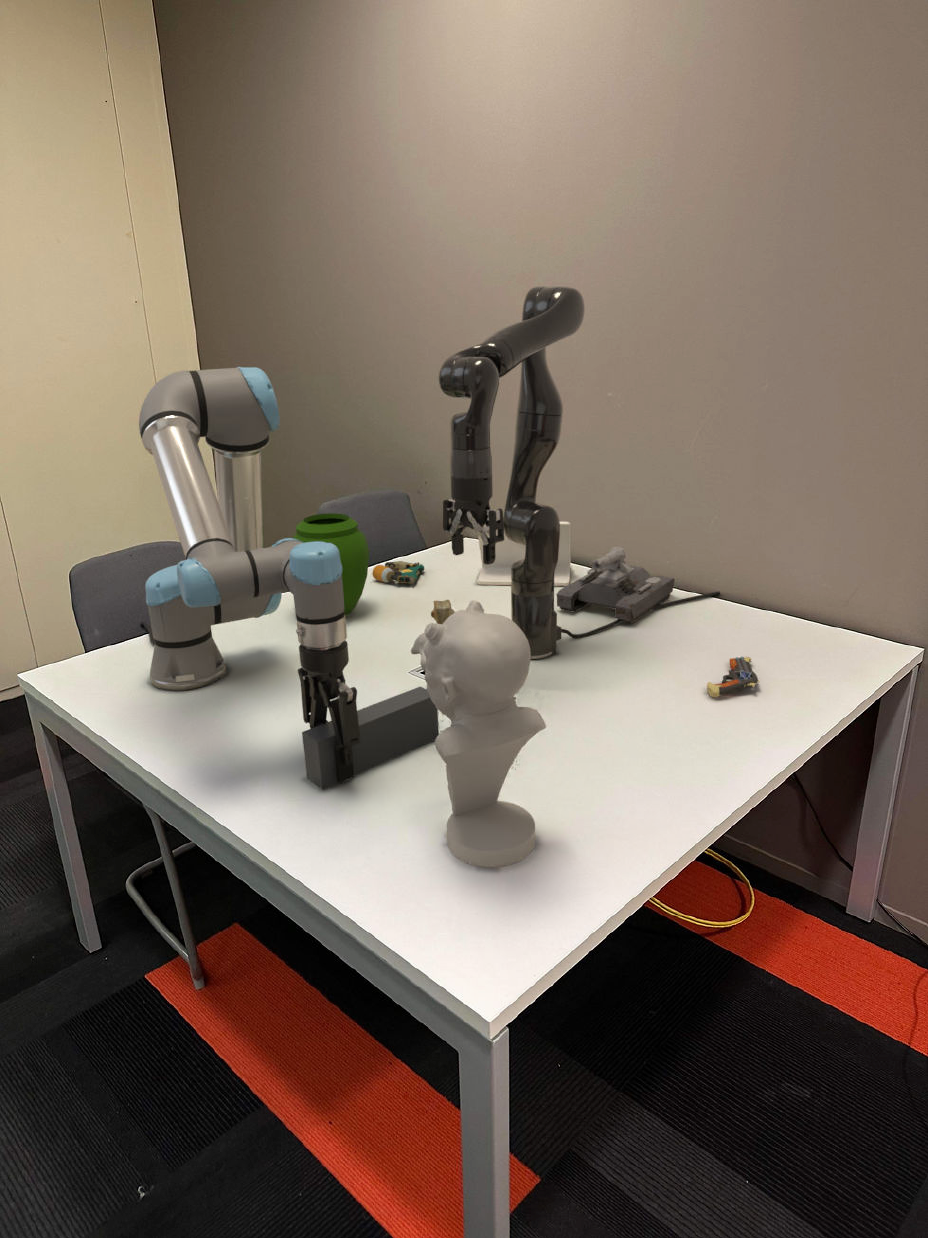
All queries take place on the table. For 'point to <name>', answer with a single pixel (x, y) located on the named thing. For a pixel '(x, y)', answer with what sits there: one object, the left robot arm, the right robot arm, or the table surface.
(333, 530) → the vase
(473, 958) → the table surface
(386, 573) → the spray gun
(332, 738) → the bar
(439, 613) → the sculpture
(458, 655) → the bust sculpture
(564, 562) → the tablet stand
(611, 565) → the toy
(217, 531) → the left robot arm
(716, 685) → the toy gun
